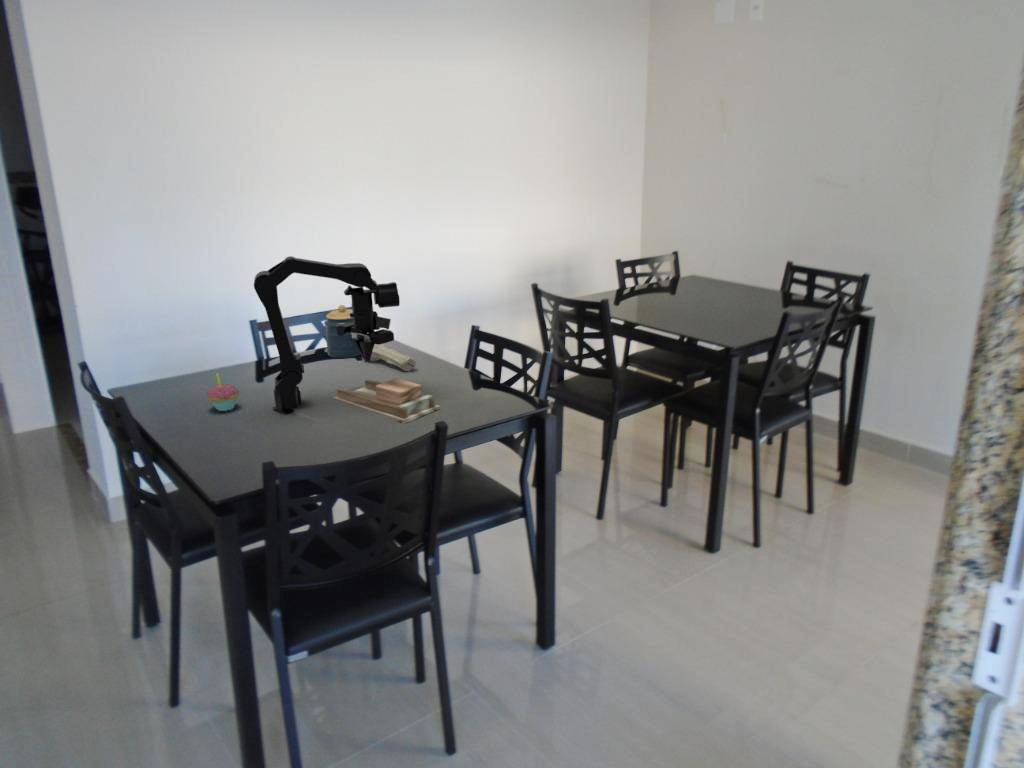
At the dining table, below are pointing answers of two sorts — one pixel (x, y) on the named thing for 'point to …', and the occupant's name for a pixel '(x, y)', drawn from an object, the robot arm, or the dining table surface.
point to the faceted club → (392, 357)
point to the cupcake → (223, 396)
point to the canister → (336, 343)
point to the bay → (369, 401)
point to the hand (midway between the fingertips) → (367, 361)
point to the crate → (398, 391)
